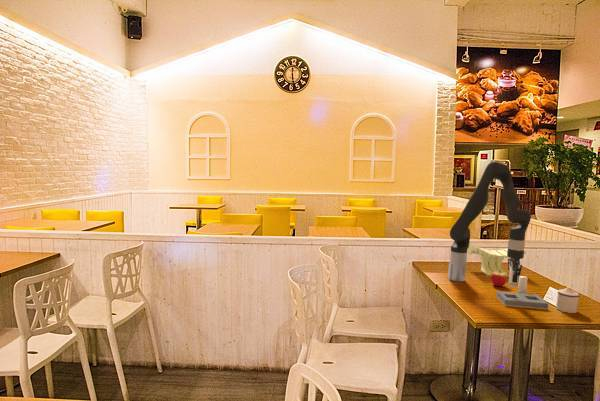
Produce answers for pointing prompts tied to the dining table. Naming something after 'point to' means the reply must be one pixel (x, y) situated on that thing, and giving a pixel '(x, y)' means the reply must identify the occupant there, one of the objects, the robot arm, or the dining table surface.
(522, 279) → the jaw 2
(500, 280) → the apple
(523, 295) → the housing
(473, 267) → the dining table surface
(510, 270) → the jaw
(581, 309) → the dining table surface
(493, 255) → the slatted curved stool
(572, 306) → the teacup with lid
